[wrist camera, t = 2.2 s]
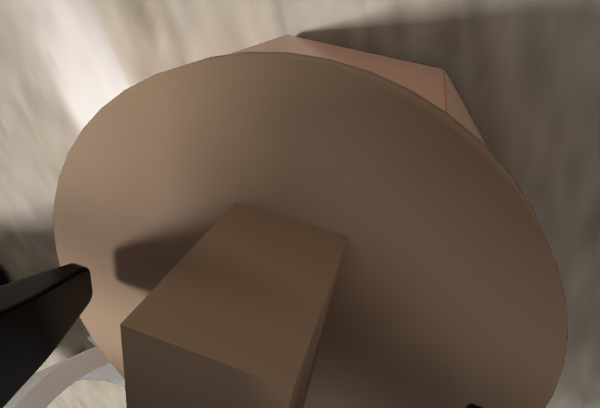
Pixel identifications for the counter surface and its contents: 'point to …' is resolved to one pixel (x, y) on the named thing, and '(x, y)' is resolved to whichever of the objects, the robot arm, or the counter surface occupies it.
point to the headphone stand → (65, 378)
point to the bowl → (383, 72)
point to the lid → (306, 245)
